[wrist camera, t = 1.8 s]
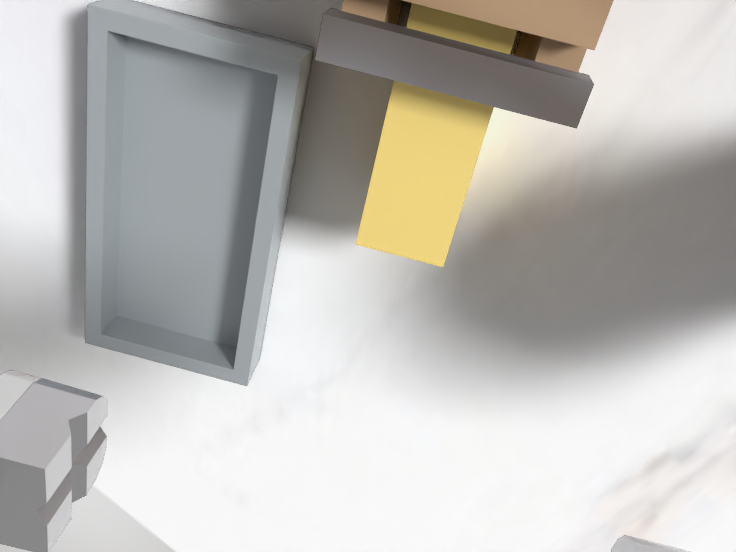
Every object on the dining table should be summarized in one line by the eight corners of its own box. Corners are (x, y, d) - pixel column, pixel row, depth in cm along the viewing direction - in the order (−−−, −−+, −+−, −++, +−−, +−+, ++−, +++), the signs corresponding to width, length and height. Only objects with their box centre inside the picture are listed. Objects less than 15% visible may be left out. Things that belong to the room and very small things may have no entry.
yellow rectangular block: (449, 206, 27) (442, 269, 23) (375, 187, 27) (354, 246, 23) (533, -71, 22) (546, -60, 18) (442, -94, 22) (432, -88, 18)
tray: (259, 359, 32) (247, 386, 30) (106, 317, 32) (84, 342, 30) (314, 47, 25) (301, 60, 23) (115, -5, 25) (87, 4, 23)
